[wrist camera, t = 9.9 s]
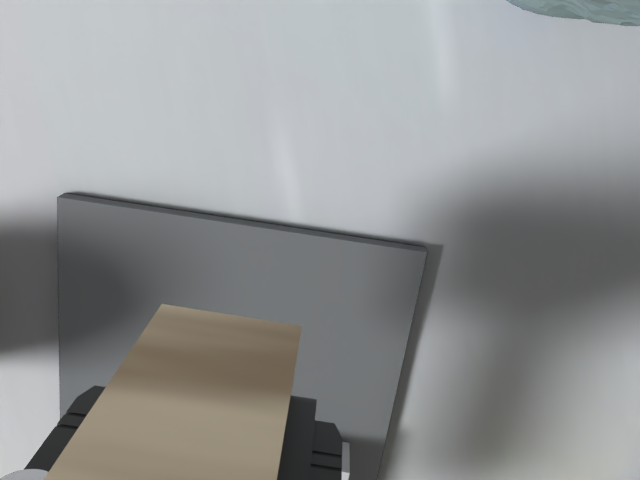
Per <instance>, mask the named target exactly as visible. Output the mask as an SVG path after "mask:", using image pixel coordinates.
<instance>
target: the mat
mask: <svg viewBox="0 0 640 480" xmlns="http://www.w3.org/2000/svg"><path fill="white" fill-rule="evenodd" d="M57 224H58V301H59V378H60V419H61V418H62V417H63V415H65V414H66V411H67V410H68V409H69V407H70V406H71V404H72V403H73V402H74V400H75V399H76V398H77V397H78V396H79V395H81V394H82V393H84V392H85V391H87V390H88V389H90V388H91V387H93V386H95V385H96V386H102V387H106V386H107V385H108V383H109V382H110V380H111V379H112V377H113V376H114V374H115V373H116V371H117V370H118V368H119V367H120V365H121V364H122V362H123V361H124V359H125V358H126V356H127V355H128V353H129V352H130V350H131V349H132V347H133V346H134V344H135V343H136V342H137V340H138V339H139V337H140V336H141V334H142V333H143V331H144V330H145V328H146V327H147V325H148V324H149V322H150V321H151V319H152V318H153V316H154V315H155V313H156V312H157V310H158V309H159V307H160V306H161V304H166V305H172V306H179V307H185V308H191V309H198V310H204V311H210V312H217V313H223V314H229V315H236V316H242V317H248V318H255V319H261V320H268V321H274V322H280V323H287V324H293V325H299V326H302V329H301V335H300V342H299V348H298V354H297V361H296V367H295V374H294V380H293V386H292V393H291V395H292V396H298V397H305V398H311V399H317V403H316V414H315V420H316V421H323V422H329V423H335V425H336V427H337V429H338V431H339V433H340V435H341V437H342V439H343V442H347V443H349V450H350V474H349V479H348V480H377V477H378V472H379V468H380V463H381V459H382V454H383V450H384V445H385V441H386V436H387V432H388V427H389V423H390V418H391V414H392V409H393V405H394V400H395V396H396V391H397V387H398V382H399V378H400V373H401V369H402V364H403V360H404V355H405V351H406V346H407V342H408V337H409V333H410V328H411V324H412V319H413V315H414V310H415V306H416V301H417V297H418V292H419V288H420V283H421V279H422V274H423V270H424V265H425V261H426V256H427V251H426V248H425V247H421V246H414V245H408V244H401V243H394V242H388V241H381V240H374V239H368V238H361V237H354V236H348V235H341V234H334V233H328V232H321V231H314V230H308V229H301V228H294V227H287V226H281V225H274V224H267V223H261V222H254V221H247V220H241V219H234V218H227V217H221V216H214V215H207V214H201V213H194V212H187V211H181V210H174V209H167V208H161V207H154V206H147V205H141V204H134V203H127V202H120V201H114V200H107V199H100V198H94V197H87V196H80V195H74V194H67V193H64V194H62V195H60V196H59V197H57Z"/></svg>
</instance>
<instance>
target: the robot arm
mask: <svg viewBox="0 0 640 480" xmlns="http://www.w3.org/2000/svg"><path fill="white" fill-rule="evenodd" d="M105 388H106V387H102V386H96V385H95V386H93V387H91V388H90V389H88V390H87V391H85V392H84V393H82V394H81V395H79V396H78V397H77V398H76V399H75V400H74V402H73V403H72V404H71V406H70V407H69V409H68V410H67V411H66V414H65V415H63V417H62V418H61V419H60V421H59V422H58V424H57V427H55V428H54V429H53V430H52V432H51V433H50V435H49V436H48V437H47V439H46V440H45V441H44V443H43V444H42V445H41V447H40V448H39V450H38V451H37V452H36V454H35V455H34V456H33V458H32V459H31V461H30V462H29V463H28V465H27V466H26V467H25V469H24V470H20V471H16V472H13V473H10V474H8V475H6V476H4V477H2V478H0V480H44V478H45V477H46V475H47V474H48V472H49V471H50V469H51V468H52V466H53V465H54V463H55V462H56V460H57V459H58V457H59V456H60V454H61V453H62V451H63V450H64V448H65V447H66V446H67V444H68V443H69V441H70V440H71V438H72V437H73V435H74V434H75V432H76V431H77V429H78V428H79V426H80V425H81V423H82V422H83V420H84V419H85V417H86V416H87V414H88V413H89V411H90V410H91V408H92V407H93V405H94V404H95V402H96V401H97V399H98V398H99V396H100V395H101V394H102V392H103V391H104V389H105ZM316 403H317V399H311V398H305V397H298V396H292V395H291V398H290V404H289V410H288V416H287V422H286V428H285V434H284V440H283V446H282V452H281V458H280V464H279V470H278V476H277V480H342V472H341V471H342V443H343V439H342V437H341V435H340V433H339V431H338V429H337V427H336V425H335V423H329V422H323V421H316V420H315V414H316Z"/></svg>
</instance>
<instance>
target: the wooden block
mask: <svg viewBox="0 0 640 480" xmlns="http://www.w3.org/2000/svg"><path fill="white" fill-rule="evenodd" d="M301 329H302V326H299V325H293V324H287V323H280V322H274V321H268V320H261V319H255V318H248V317H242V316H236V315H229V314H223V313H217V312H210V311H204V310H198V309H191V308H185V307H179V306H172V305H166V304H161V306H160V307H159V309H158V310H157V312H156V313H155V315H154V316H153V318H152V319H151V321H150V322H149V324H148V325H147V327H146V328H145V330H144V331H143V333H142V334H141V336H140V337H139V339H138V340H137V342H136V343H135V344H134V346H133V347H132V349H131V350H130V352H129V353H128V355H127V356H126V358H125V359H124V361H123V362H122V364H121V365H120V367H119V368H118V370H117V371H116V373H115V374H114V376H113V377H112V379H111V380H110V382H109V383H108V385H107V386H106V388H105V389H104V391H103V392H102V394H101V395H100V396H99V398H98V399H97V401H96V402H95V404H94V405H93V407H92V408H91V410H90V411H89V413H88V414H87V416H86V417H85V419H84V420H83V422H82V423H81V425H80V426H79V428H78V429H77V431H76V432H75V434H74V435H73V437H72V438H71V440H70V441H69V443H68V444H67V446H66V447H65V448H64V450H63V451H62V453H61V454H60V456H59V457H58V459H57V460H56V462H55V463H54V465H53V466H52V468H51V469H50V471H49V472H48V474H47V475H46V477H45V478H44V480H277V476H278V470H279V464H280V458H281V452H282V446H283V440H284V434H285V428H286V422H287V416H288V410H289V404H290V398H291V393H292V386H293V380H294V374H295V367H296V361H297V354H298V348H299V342H300V335H301Z"/></svg>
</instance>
